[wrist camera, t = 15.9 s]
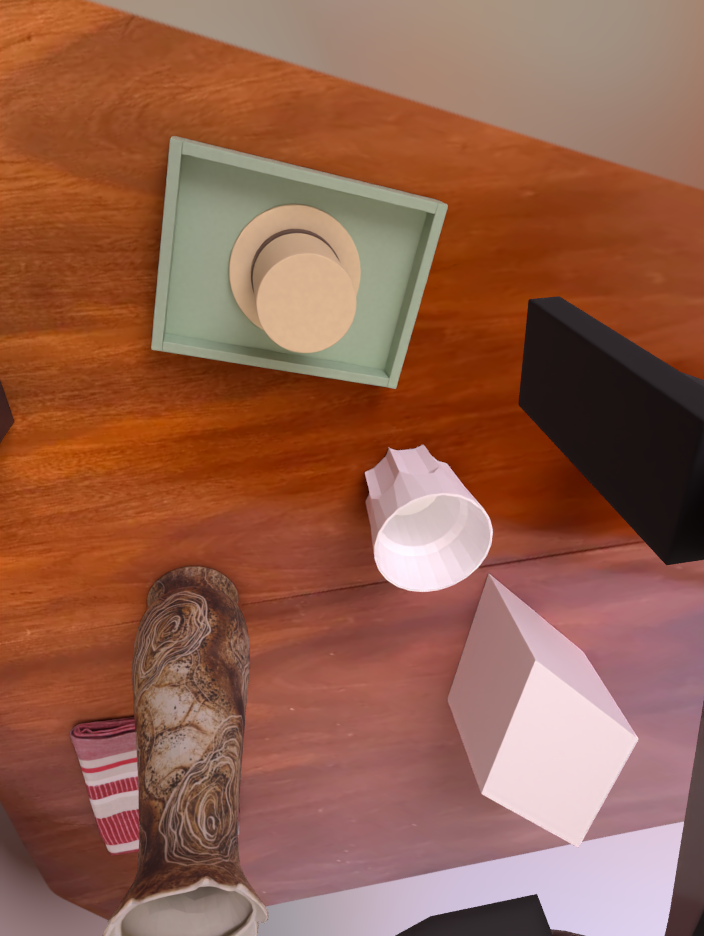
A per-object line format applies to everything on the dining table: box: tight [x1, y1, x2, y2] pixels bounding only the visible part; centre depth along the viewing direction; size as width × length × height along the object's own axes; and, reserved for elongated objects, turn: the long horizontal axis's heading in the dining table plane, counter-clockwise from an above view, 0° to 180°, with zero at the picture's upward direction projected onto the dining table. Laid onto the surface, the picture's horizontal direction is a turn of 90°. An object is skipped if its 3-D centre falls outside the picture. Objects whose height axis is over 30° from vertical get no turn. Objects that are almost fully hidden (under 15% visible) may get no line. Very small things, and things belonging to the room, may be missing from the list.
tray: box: [151, 136, 448, 389], centre depth 49 cm, size 20×15×3 cm
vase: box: [103, 566, 268, 936], centre depth 52 cm, size 10×11×30 cm
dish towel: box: [70, 717, 240, 855], centre depth 76 cm, size 17×23×3 cm
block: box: [447, 574, 638, 847], centre depth 73 cm, size 18×35×12 cm, turn 17°
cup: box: [365, 444, 493, 592], centre depth 57 cm, size 10×10×10 cm
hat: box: [229, 204, 361, 353], centre depth 46 cm, size 10×10×9 cm
